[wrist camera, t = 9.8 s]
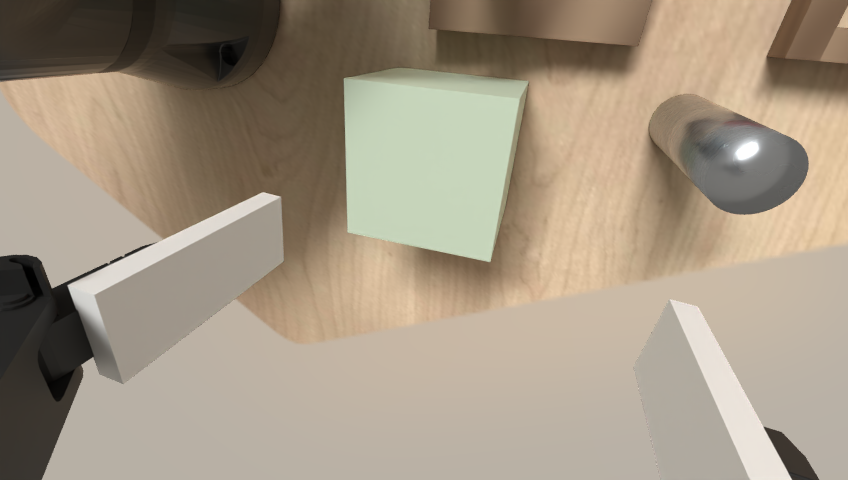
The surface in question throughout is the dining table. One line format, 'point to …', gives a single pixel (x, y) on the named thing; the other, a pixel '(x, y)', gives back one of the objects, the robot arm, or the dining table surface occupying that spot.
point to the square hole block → (812, 32)
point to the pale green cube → (431, 157)
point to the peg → (729, 154)
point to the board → (545, 18)
